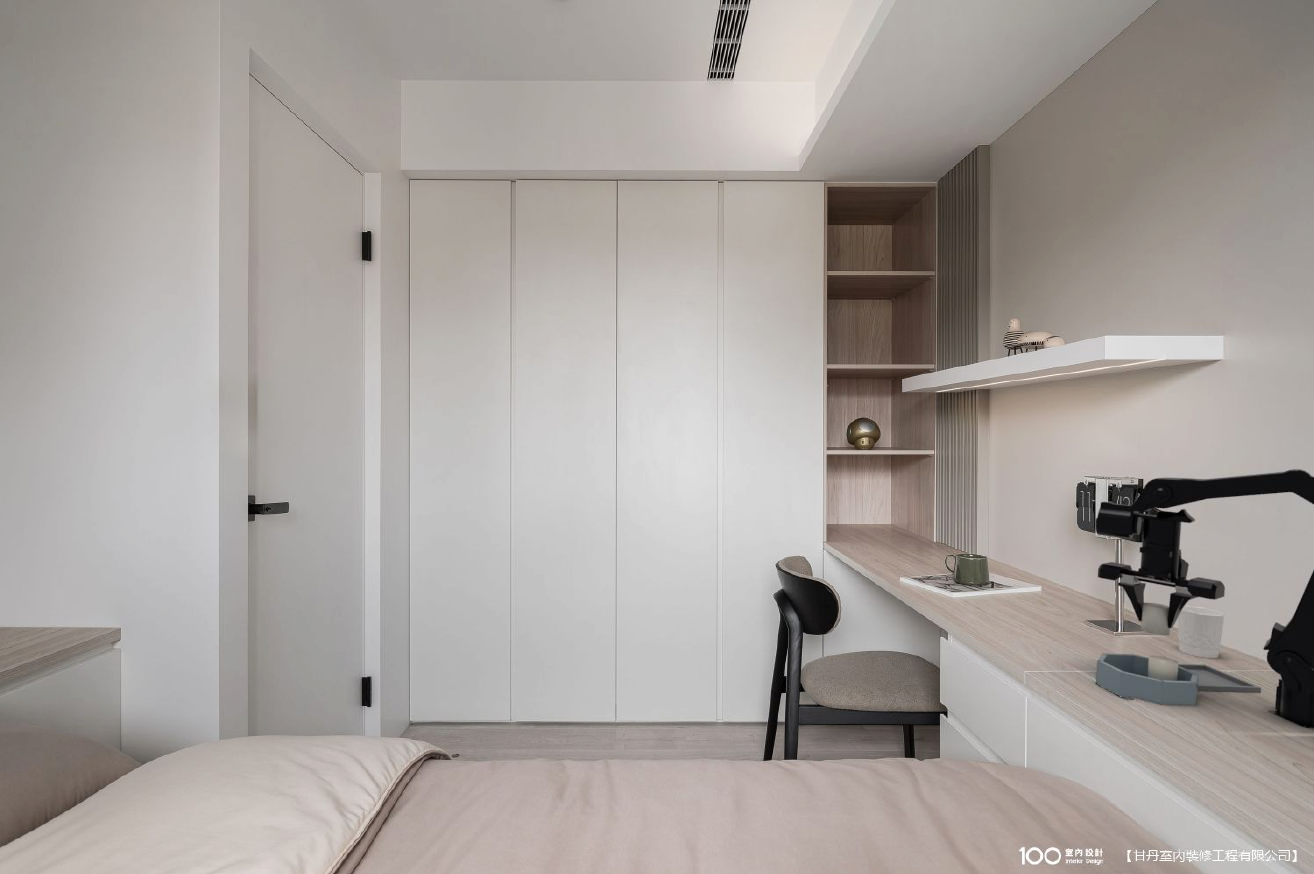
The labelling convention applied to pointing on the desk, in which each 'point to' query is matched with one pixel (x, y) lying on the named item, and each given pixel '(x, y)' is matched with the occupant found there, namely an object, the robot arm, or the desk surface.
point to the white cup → (1200, 631)
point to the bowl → (1144, 680)
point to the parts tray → (1219, 680)
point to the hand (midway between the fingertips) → (1155, 624)
